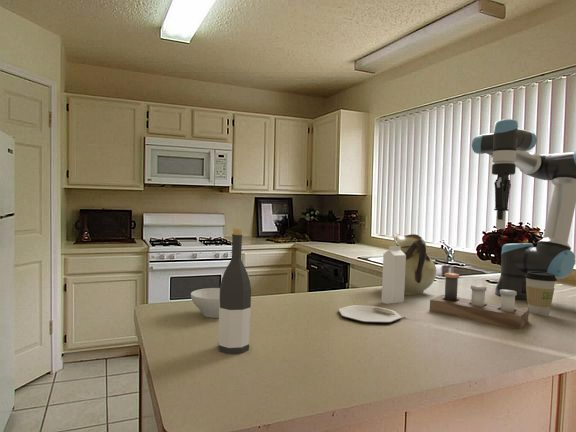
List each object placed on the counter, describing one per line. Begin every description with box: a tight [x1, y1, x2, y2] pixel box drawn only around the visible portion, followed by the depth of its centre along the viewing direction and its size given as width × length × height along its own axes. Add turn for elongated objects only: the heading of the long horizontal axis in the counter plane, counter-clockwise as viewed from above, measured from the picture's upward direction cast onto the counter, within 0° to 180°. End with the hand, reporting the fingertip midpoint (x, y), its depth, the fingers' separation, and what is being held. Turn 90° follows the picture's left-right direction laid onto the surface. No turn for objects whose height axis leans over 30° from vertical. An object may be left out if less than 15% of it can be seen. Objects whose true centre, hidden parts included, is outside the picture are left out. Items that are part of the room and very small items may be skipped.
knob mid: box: [470, 284, 487, 307], centre depth 137 cm, size 5×5×9 cm
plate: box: [337, 304, 402, 324], centre depth 136 cm, size 20×20×2 cm
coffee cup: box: [525, 271, 557, 317], centre depth 146 cm, size 10×10×15 cm
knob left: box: [499, 289, 517, 312], centre depth 131 cm, size 5×5×9 cm
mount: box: [429, 294, 529, 330], centre depth 137 cm, size 12×28×5 cm, turn 49°
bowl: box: [190, 287, 220, 319], centre depth 131 cm, size 16×16×7 cm
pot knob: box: [444, 272, 460, 301], centre depth 143 cm, size 5×5×9 cm
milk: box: [381, 245, 406, 305], centre depth 155 cm, size 6×6×22 cm
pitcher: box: [393, 233, 437, 296], centre depth 176 cm, size 22×24×25 cm
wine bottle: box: [217, 228, 252, 355], centre depth 101 cm, size 8×8×30 cm
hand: (500, 228), depth 147 cm, fingers closed
